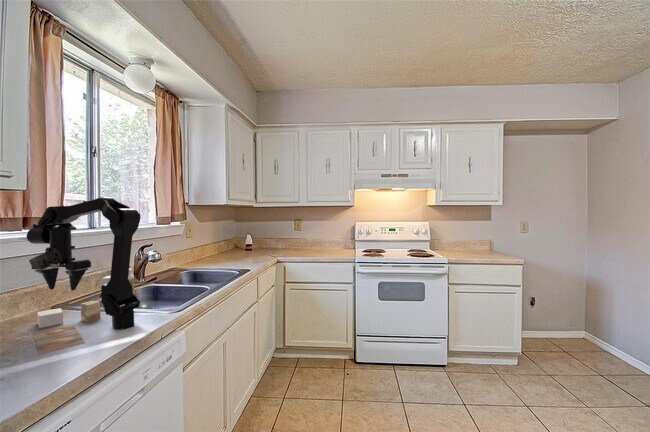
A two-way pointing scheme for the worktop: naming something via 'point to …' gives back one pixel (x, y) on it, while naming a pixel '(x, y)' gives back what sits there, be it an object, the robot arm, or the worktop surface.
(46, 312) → the block
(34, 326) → the worktop surface
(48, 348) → the board
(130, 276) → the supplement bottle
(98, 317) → the tan rectangular block
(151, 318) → the worktop surface
